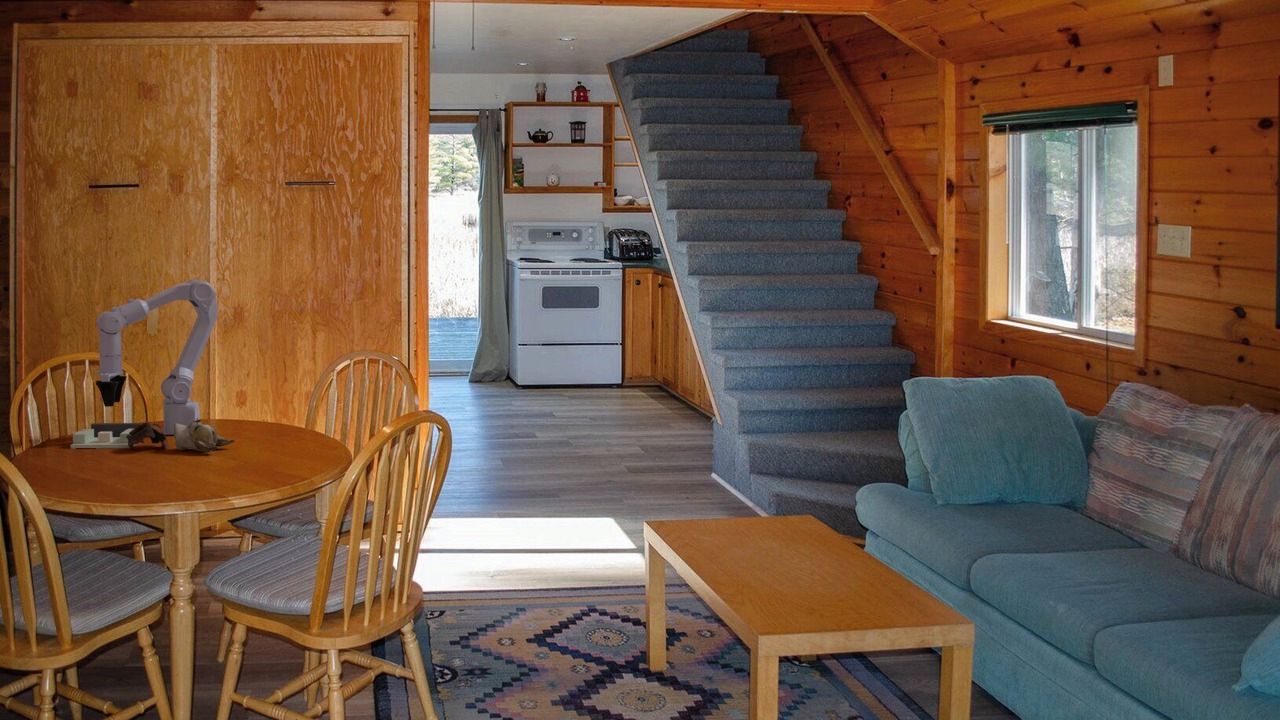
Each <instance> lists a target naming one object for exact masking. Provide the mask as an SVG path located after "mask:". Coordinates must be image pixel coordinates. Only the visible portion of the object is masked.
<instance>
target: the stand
mask: <svg viewBox="0 0 1280 720" xmlns="http://www.w3.org/2000/svg"><path fill="white" fill-rule="evenodd" d="M132 430H133V429H127V430H125V431H124V432H122V433H121V434H120V437H112V432H99V433H98V437H94V429H91V428H82V429H80V430H78V431H76V432H74V433H73V434H72V444H70V449H72V450H76V448H96V449H130V448H129V446H128V439H127V438H126V436H127V435H128V434H129V432H130V431H132ZM129 435H130V434H129ZM130 436H131V435H130Z"/></svg>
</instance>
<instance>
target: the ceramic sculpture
mask: <svg viewBox="0 0 1280 720" xmlns="http://www.w3.org/2000/svg"><path fill="white" fill-rule="evenodd" d="M173 437H174V440H175V441H174V442H175V443H174V444H175V447H176V449H177V450H179V451H186V450H188V449H190V450H194V451H195V452H196V451H197V452H199V453H200V452H201V453H203V452H204V453H209V452H212V451H215V450H217V449H218V447H219V448H221V447H225V446H228V445H231V444H233V443H235V442H236V440H233V439H231V440H228V439H227V438H224V437H223V436H221V435H219V434H218V432H217V430H216V428H215V427H214V426H213V425H211V424H207V423H206V424H203V423H202V420H201V419H200V420H196V421H193V422H191V423H190V425H189V426H185V425H182V424H178V423H174V435H173Z"/></svg>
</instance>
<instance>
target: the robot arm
mask: <svg viewBox="0 0 1280 720" xmlns="http://www.w3.org/2000/svg"><path fill="white" fill-rule="evenodd" d="M175 301H187V302H189V303H191V305H192V306H193V308H194V311H195V312H196V314H197V317H196V319H195V321H194V323H193V326H192V329H191V330H190V333H189V334H188V338H187V340H186V342H185V344H184V346H183V349H182V351H181V354H180V355H179V357H178V360H177V363H176V365H175V366H174V367H173V369H172V370H171V371H170V373H169V375H168V376H167V377H166V378H165V379H164V380H163V381H162V382H161V385H160V390H161V393H162V395H163V396H164V398H163V399H162V404H163V405H162V407H163V409H162V411H163V430H162V431H163V433H164V434H165V436H166V435H169V436H170V435H171V436H172V435H173V436H174V423H178V424H182V425H185V426H189V425H190V423H191V422H193V421H196V420H201V419H200V418H201V417H200V406H199V402H197V401H191V398H190V397H191V395H192V393H193V392H192V391H193V390H192V389H193V388H192V386H193V382H194V373H195V371H196V370H195V369H196V368H197V365H198V363H199V361H200V359H201V356H202V354H203V352H204V349H205V347H206V345H207V342H208V340H209V338H210V336H211V334H212V331H213V329H214V327H215V324H216V323H217V320H218V316H219V309H218V303H217V292H216V290H215V288H214V287H213V286H212V284H211V283H210V282H208V281H205V280H199V279H193V278H192V279H190V280H189V279H188V280H187V281H186V282H185V281H183V282H180V283H178V284H175V285H173V286H171V287H168V288H167V289H165V290H163V291H161V292H158V293H157V294H155V295H152V296H150V297H148V298H146V299H144V300H142V299H140V298H135V299H134V298H129V299H128V300H127V302H126V303H124V304H121V305H119V306H117V307H116V306H113V307H111V311H103V312H101V313H100V314H99V316H97V318H96V321H95V325H96V327H97V329H98V353H99V356H98V357H99V359H98V360H99V370H96V371H94V373H95V375H100V380H96V381H95V385H96V387H97V388H98V391H100V395H101V398H102V403H103V406H104V407H105V408H106V407H107V408H108V407H114V404H115V403H121V398H122V392H123V389H124V385H125V382H126V380H127V376H126V375H124V370H123V348H122V338H121V337H122V334H121V333H122V332H121V331H122V330H123V328H124V327H125V328H126V327H129V326H130V325H133V324H135V323H137V322H139V321H141V320H144V319H146V318H147V317H148V316H149V313H150V312H151V311H152V310H155V309H158V308H160V307H162V306H165V305H167V304H170V303H173V302H175Z"/></svg>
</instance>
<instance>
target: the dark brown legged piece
mask: <svg viewBox="0 0 1280 720" xmlns="http://www.w3.org/2000/svg"><path fill="white" fill-rule="evenodd" d="M142 423H143V424H141V425H139V426H137V427H136V428H134V429H133V430H132V431H130V432H129V434H130V435H131V436H130V435H129V434H128V435H127V436H126V438H127V439H128V446H129V448H128V449H130V450H133V449H134V446H136V445H137V444H139V443H142V444H145V437H149V439H150V441H151V443H152V444H159V443H161V444H160V445H161V446H162V447H163V450H164V451H166V450H168V449H169V447H170V445H169V443H168V439H167V437H166V435H165V434H164V433H163V431H164V430H163V429H162V427H161V426H160V424H158V423H157V422H156V423H152V422H151V421H146V422H142Z"/></svg>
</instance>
